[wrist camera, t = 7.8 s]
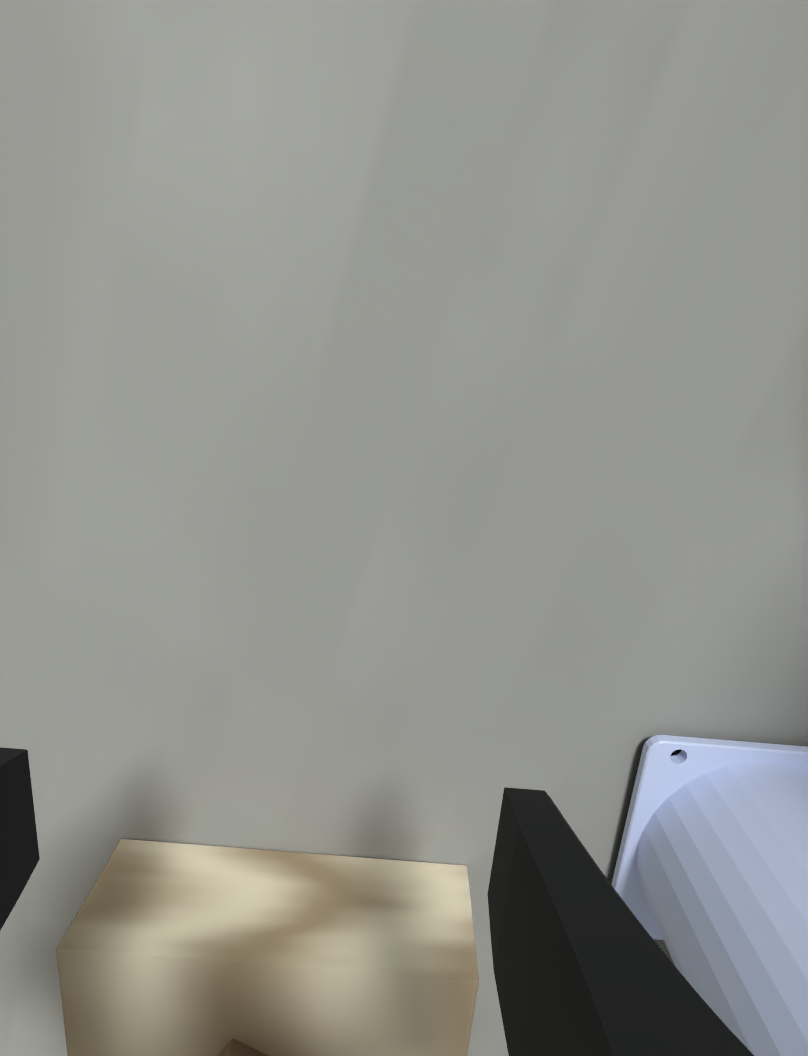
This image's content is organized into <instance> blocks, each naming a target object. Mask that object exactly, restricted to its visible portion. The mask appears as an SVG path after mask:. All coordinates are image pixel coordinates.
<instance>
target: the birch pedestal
mask: <svg viewBox="0 0 808 1056" xmlns="http://www.w3.org/2000/svg"><path fill="white" fill-rule="evenodd" d="M56 950H57V959H58V969H59V978H60V987H61V997H62V1006H63V1016H64V1025H65V1034H66V1044H67V1053H68V1056H218V1055H219V1054H220V1053H221V1051H222V1050H223V1049H224V1048H225V1047H226V1046H227V1044H228V1043H229V1042H230V1041H231V1040H232V1039H236V1040H238V1041H240V1042H242V1043H244V1044H246V1045H248V1046H250V1047H252V1048H254V1049H256V1050H258V1051H260V1052H262V1053H264V1054H266V1055H269V1056H467V1052H468V1046H469V1040H470V1033H471V1027H472V1021H473V1015H474V1008H475V1002H476V996H477V989H478V983H479V977H478V967H477V958H476V948H475V939H474V929H473V920H472V910H471V901H470V891H469V881H468V872H467V866H464V865H451V864H438V863H425V862H412V861H399V860H387V859H374V858H361V857H348V856H335V855H322V854H309V853H297V852H284V851H271V850H258V849H245V848H232V847H220V846H207V845H194V844H181V843H168V842H155V841H142V840H130V839H121V840H120V842H119V844H118V845H117V847H116V849H115V851H114V852H113V854H112V856H111V857H110V859H109V861H108V862H107V864H106V866H105V867H104V869H103V871H102V873H101V874H100V876H99V878H98V879H97V881H96V883H95V884H94V886H93V888H92V889H91V891H90V893H89V894H88V896H87V898H86V900H85V901H84V903H83V905H82V906H81V908H80V910H79V911H78V913H77V915H76V916H75V918H74V920H73V922H72V923H71V925H70V927H69V928H68V930H67V932H66V933H65V935H64V937H63V938H62V940H61V942H60V943H59V945H58V947H57V949H56Z"/></svg>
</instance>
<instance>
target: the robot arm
mask: <svg viewBox="0 0 808 1056" xmlns="http://www.w3.org/2000/svg"><path fill="white" fill-rule="evenodd" d="M680 749H681V752H680V753H679V754H677V755H674V756H671V754H672V752H674V751H675V750H680ZM38 861H39V851H38V841H37V832H36V823H35V814H34V805H33V796H32V787H31V778H30V769H29V760H28V751H27V750H24V749H12V748H0V930H1V928H2V926H3V925H4V923H5V921H6V919H7V918H8V916H9V914H10V913H11V911H12V909H13V907H14V906H15V904H16V902H17V900H18V899H19V897H20V895H21V893H22V891H23V889H24V887H25V885H26V884H27V882H28V880H29V878H30V876H31V874H32V872H33V870H34V869H35V867H36V865H37V863H38ZM488 904H489V917H490V931H491V943H492V954H493V966H494V974H495V980H496V985H497V991H498V997H499V1003H500V1008H501V1014H502V1020H503V1025H504V1031H505V1037H506V1042H507V1048H508V1053H509V1056H808V747H805V746H793V745H780V744H768V743H756V742H743V741H731V740H718V739H706V738H693V737H681V736H669V735H656V736H653V737H651V738H649V739H648V740H647V741H646V742H645V744H644V746H643V749H642V754H641V758H640V762H639V767H638V771H637V775H636V780H635V784H634V788H633V793H632V797H631V801H630V806H629V810H628V815H627V819H626V823H625V828H624V832H623V836H622V841H621V845H620V849H619V854H618V858H617V862H616V867H615V871H614V875H613V880H612V884H610V882H609V881H608V880H607V878H606V877H605V875H604V874H603V873H602V871H601V870H600V869H599V867H598V866H597V864H596V863H595V862H594V860H593V859H592V857H591V856H590V855H589V853H588V852H587V850H586V849H585V847H584V846H583V845H582V843H581V842H580V840H579V839H578V837H577V836H576V835H575V833H574V832H573V830H572V829H571V827H570V826H569V824H568V823H567V821H566V820H565V819H564V817H563V816H562V814H561V813H560V811H559V810H558V808H557V807H556V805H555V804H554V802H553V801H552V799H551V798H550V797H549V796H548V794H547V793H546V792H545V791H541V790H529V789H516V788H504V794H503V800H502V806H501V813H500V819H499V826H498V832H497V838H496V845H495V851H494V857H493V864H492V870H491V877H490V883H489V889H488ZM653 939H657V940H664V941H665V944H666V946H667V949H668V951H669V953H670V956H671V958H672V960H673V963H674V964H673V963H672V962H671V961H670V959H669V958H668V957H667V956H666V955H665V953H664V952H663V951H662V950H661V948H660V947H659V946H658V945H657V943H656V942H655V941H654V940H653Z"/></svg>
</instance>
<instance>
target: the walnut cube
mask: <svg viewBox="0 0 808 1056" xmlns="http://www.w3.org/2000/svg"><path fill="white" fill-rule="evenodd" d="M218 1056H269V1055H266V1054H264V1053H262V1052H260V1051H258V1050H256V1049H254V1048H252V1047H250V1046H248V1045H246V1044H244V1043H242V1042H240V1041H238V1040H236V1039H232V1040H231V1041H230V1042H229V1043H228V1044H227V1046H226V1047H225V1048H224V1049H223V1050H222V1051H221V1053H220V1054H219V1055H218Z"/></svg>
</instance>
